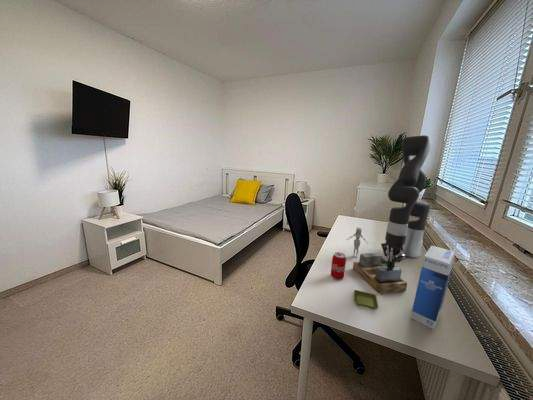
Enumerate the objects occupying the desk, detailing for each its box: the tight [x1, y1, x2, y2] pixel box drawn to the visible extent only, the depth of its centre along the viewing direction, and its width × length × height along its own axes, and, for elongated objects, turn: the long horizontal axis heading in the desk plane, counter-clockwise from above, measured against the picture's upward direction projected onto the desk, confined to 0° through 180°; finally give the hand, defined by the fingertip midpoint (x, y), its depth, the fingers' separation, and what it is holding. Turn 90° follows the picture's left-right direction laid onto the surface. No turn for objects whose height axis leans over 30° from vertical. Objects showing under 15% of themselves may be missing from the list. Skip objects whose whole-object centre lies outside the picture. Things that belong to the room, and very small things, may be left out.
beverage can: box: [330, 252, 347, 281], centre depth 103 cm, size 6×6×12 cm
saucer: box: [353, 289, 379, 310], centre depth 87 cm, size 9×9×2 cm
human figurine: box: [346, 227, 369, 259], centre depth 123 cm, size 12×4×18 cm, turn 66°
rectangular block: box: [375, 265, 403, 284], centre depth 96 cm, size 10×3×8 cm, turn 100°
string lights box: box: [410, 245, 456, 330], centre depth 78 cm, size 13×8×26 cm, turn 133°
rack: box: [352, 252, 408, 294], centre depth 102 cm, size 14×20×10 cm
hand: (390, 267), depth 95 cm, fingers closed
